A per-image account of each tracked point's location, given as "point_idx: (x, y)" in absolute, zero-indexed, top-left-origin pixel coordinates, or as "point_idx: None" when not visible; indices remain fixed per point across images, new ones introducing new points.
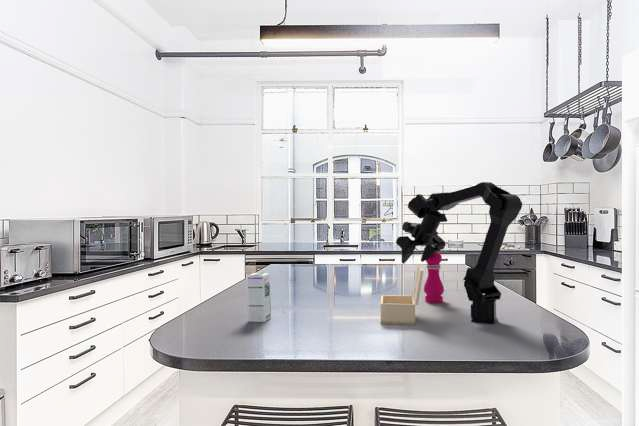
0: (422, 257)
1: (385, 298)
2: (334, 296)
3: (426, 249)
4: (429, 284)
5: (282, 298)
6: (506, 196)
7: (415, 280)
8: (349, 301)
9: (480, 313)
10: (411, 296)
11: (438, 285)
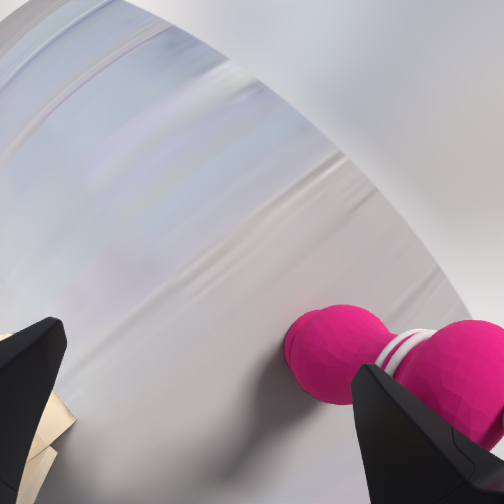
0: (375, 402)
1: None
2: (138, 45)
3: (434, 495)
4: (310, 372)
5: (58, 23)
6: None
7: (28, 483)
8: (92, 116)
9: None
10: (35, 447)
11: (334, 403)
